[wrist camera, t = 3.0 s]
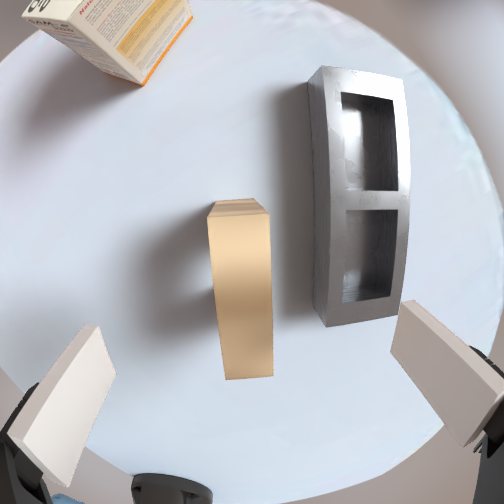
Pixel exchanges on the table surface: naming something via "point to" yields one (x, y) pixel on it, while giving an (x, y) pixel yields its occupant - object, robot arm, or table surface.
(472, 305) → the table surface
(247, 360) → the clip
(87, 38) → the supplement box
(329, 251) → the grey rectangular block
